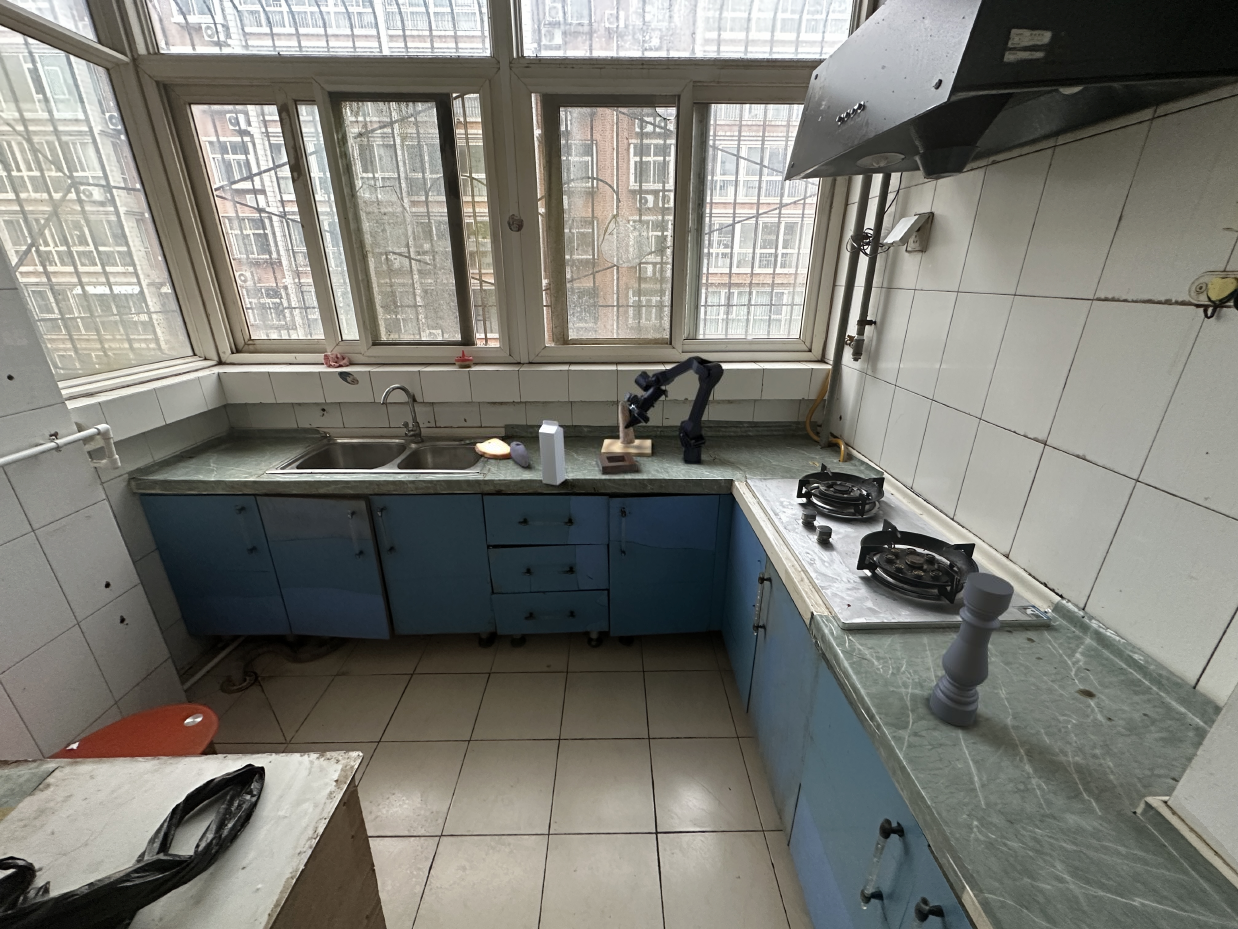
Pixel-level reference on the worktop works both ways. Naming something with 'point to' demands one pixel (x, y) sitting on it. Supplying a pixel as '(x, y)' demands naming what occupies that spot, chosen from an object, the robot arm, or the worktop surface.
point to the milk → (552, 453)
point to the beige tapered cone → (624, 417)
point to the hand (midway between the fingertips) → (623, 426)
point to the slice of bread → (493, 449)
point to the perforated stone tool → (519, 453)
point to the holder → (616, 463)
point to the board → (627, 447)
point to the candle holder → (970, 649)
